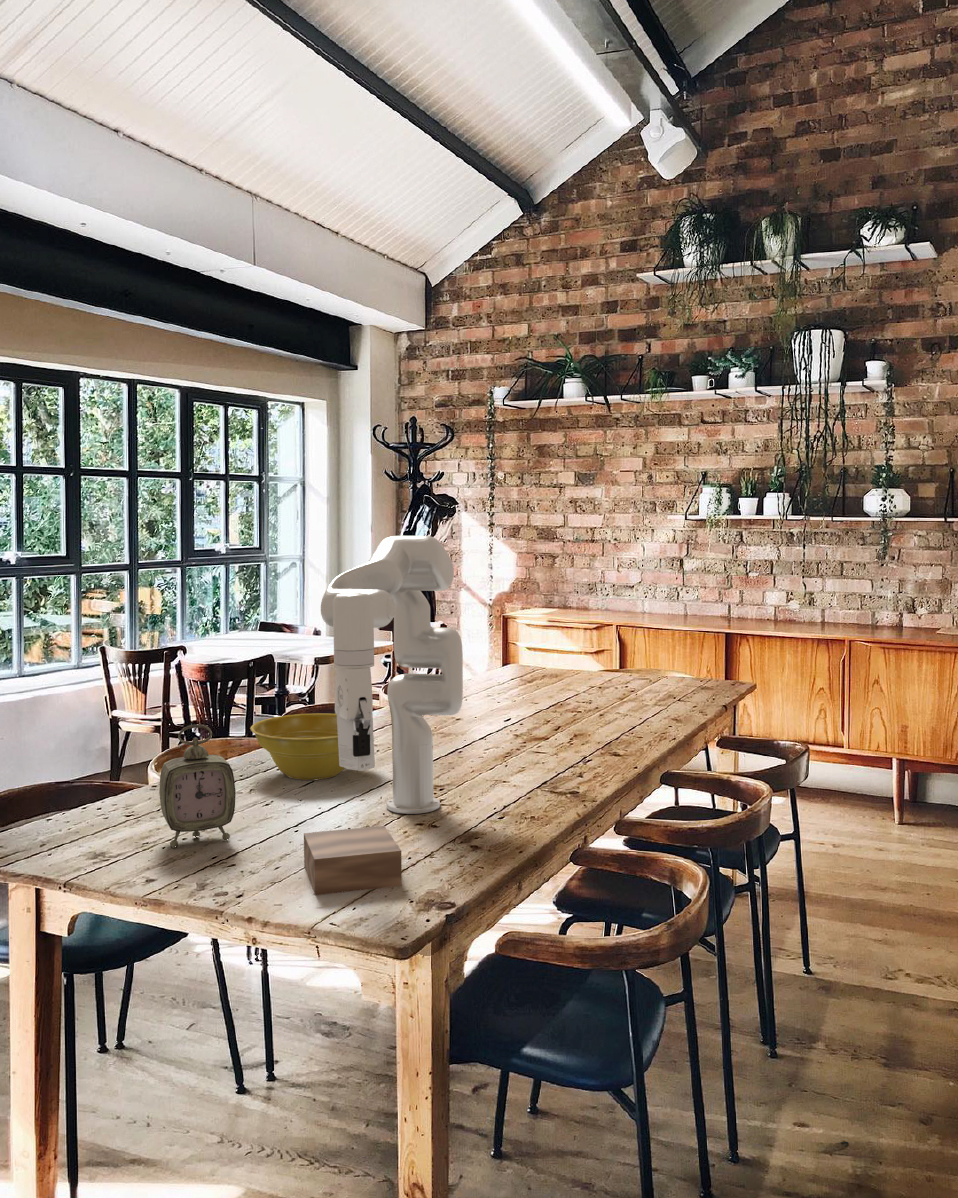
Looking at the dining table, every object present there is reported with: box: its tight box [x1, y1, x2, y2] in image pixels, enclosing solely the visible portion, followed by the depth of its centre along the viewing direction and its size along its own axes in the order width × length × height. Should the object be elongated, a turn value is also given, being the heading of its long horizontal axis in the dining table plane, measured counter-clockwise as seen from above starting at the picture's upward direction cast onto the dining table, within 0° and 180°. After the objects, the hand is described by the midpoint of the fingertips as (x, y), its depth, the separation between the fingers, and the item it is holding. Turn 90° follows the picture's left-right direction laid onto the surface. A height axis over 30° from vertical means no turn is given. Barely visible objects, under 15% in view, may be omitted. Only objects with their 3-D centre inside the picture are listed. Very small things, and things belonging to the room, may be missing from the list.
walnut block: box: [303, 825, 403, 896], centre depth 194 cm, size 16×16×7 cm
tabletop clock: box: [158, 724, 237, 848], centre depth 215 cm, size 14×9×25 cm, turn 115°
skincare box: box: [336, 705, 376, 772], centre depth 193 cm, size 6×4×12 cm
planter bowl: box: [249, 713, 346, 781], centre depth 271 cm, size 32×32×13 cm
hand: (355, 750), depth 193 cm, fingers closed on skincare box, 7 cm apart
